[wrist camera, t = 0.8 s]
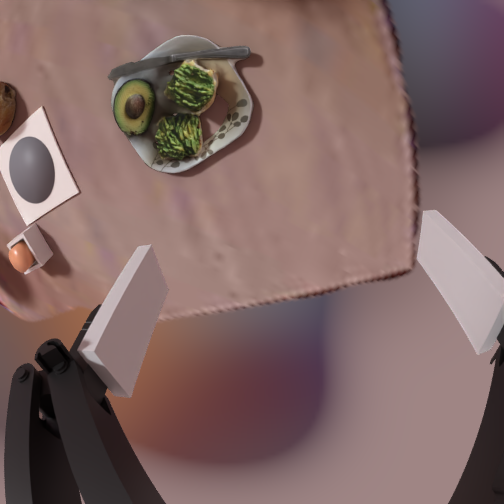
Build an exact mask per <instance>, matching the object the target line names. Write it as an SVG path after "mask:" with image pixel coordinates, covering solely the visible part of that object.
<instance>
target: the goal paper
mask: <svg viewBox="0 0 504 504" xmlns="http://www.w3.org/2000/svg"><path fill="white" fill-rule="evenodd" d="M0 171H1V173H2V176H3V178H4V180H5V183H6V185H7V187H8V189H9V191H10V194H11V196H12V198H13V200H14V202H15V204H16V206H17V208H18V210H19V212H20V214H21V216H22V218H23V220H24V221H25V223H26V225H29V224H30V223H32V222H33V221H35V220H36V219H38V218H39V217H41V216H42V215H44V214H45V213H47V212H48V211H50V210H51V209H53V208H54V207H56V206H57V205H59V204H61V203H62V202H64V201H65V200H67V199H69V198H70V197H72V196H74V195H75V194H77V193H79V192H80V191H79V189H78V187H77V185H76V183H75V181H74V179H73V177H72V175H71V173H70V171H69V168H68V166H67V164H66V162H65V160H64V157H63V155H62V153H61V151H60V148H59V146H58V144H57V141H56V139H55V136H54V134H53V132H52V129H51V127H50V124H49V121H48V119H47V116H46V114H45V111H44V108H43V106H41V107H40V108H39V109H38V110H37V111H36V112H35V113H33V114H32V115H31V116H30V117H29V118H28V119H27V120H26V121H25V122H24V123H23V124H22V125H21V126H20V127H19V128H18V129H17V130H16V131H15V132H14V133H13V134H12V135H11V136H10V137H9V138H8V139H7V140H6V141H5V142H4V143H3V144H2V146H1V147H0Z"/></svg>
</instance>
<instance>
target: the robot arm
mask: <svg viewBox="0 0 504 504" xmlns="http://www.w3.org/2000/svg"><path fill="white" fill-rule="evenodd" d="M417 260H418V262H419V263H420V264H421V266H422V267H423V268H424V270H425V271H426V273H427V274H428V276H429V277H430V278H431V280H432V281H433V283H434V284H435V286H436V287H437V289H438V290H439V292H440V293H441V295H442V296H443V298H444V299H445V301H446V302H447V304H448V305H449V307H450V309H451V310H452V312H453V313H454V315H455V317H456V318H457V320H458V322H459V323H460V325H461V327H462V328H463V330H464V332H465V333H466V335H467V337H468V339H469V340H470V342H471V344H472V346H473V347H474V349H475V351H476V353H477V354H481V353H483V352H486V351H488V350H491V348H492V346H493V345H494V343H495V341H496V339H497V340H498V341H499V343H500V346H499V348H498V349H497V351H496V353H495V354H494V356H493V358H492V359H491V362H490V364H492V363H493V361H494V360H495V359H496V361H495V367H494V373H493V378H492V383H491V387H490V392H489V396H488V400H487V404H486V408H485V412H484V416H483V419H482V423H481V425H480V429H479V432H478V435H477V438H476V441H475V444H474V447H473V449H472V452H471V454H470V457H469V460H468V462H467V465H466V467H465V469H464V472H463V474H462V476H461V479H460V481H459V483H458V485H457V487H456V489H455V492H454V493H453V496H452V497H451V499H450V501H449V503H448V504H504V272H503V271H502V269H501V268H500V267H499V266H498V265H497V264H496V263H495V262H494V261H492V260H491V259H489V258H488V257H486V256H485V257H484V256H483V255H482V254H481V253H480V252H479V251H478V250H477V249H476V248H475V247H474V246H473V245H472V244H471V243H470V242H469V241H468V240H467V239H466V238H465V237H464V236H463V235H462V234H461V233H460V232H459V231H458V230H457V229H456V228H455V227H454V226H453V225H452V224H451V223H450V222H449V221H448V220H446V219H445V218H444V217H443V216H442V215H441V214H440V213H439V212H438V211H436V210H428V211H423V218H422V226H421V234H420V241H419V248H418V254H417ZM168 290H169V289H168V286H167V284H166V281H165V279H164V276H163V273H162V271H161V268H160V266H159V263H158V260H157V258H156V255H155V252H154V249H153V247H152V244H151V245H144V246H138V247H137V249H136V250H135V252H134V253H133V255H132V257H131V258H130V260H129V261H128V263H127V264H126V266H125V267H124V269H123V271H122V272H121V274H120V275H119V277H118V279H117V280H116V282H115V284H114V285H113V287H112V289H111V290H110V292H109V294H108V295H107V297H106V299H105V300H104V302H103V304H101V305H98V306H97V307H96V308H95V309H94V310H93V311H92V312H91V314H90V315H89V317H88V318H87V320H86V323H85V324H84V326H83V328H82V330H81V331H80V333H79V335H78V337H77V338H76V340H75V342H74V344H73V346H72V348H71V349H70V351H68V350H67V349H66V347H65V346H64V345H63V343H62V342H61V341H60V340H59V339H50V340H48V341H46V342H45V343H43V344H42V345H41V346H40V347H39V348H38V350H37V352H36V354H35V360H36V362H37V363H38V364H39V365H40V367H41V368H42V369H43V370H42V371H37V370H36V369H35V368H34V366H33V365H32V364H29V363H27V364H23V365H21V366H20V367H19V368H18V369H17V370H16V372H15V373H14V375H13V378H12V383H11V390H10V396H9V403H8V411H7V420H6V434H5V453H4V472H5V473H4V474H5V495H6V504H82V503H81V497H80V493H81V495H82V497H83V500H84V502H85V504H166V503H165V502H164V500H163V499H162V497H161V496H160V494H159V493H158V491H157V490H156V488H155V487H154V485H153V484H152V482H151V480H150V479H149V477H148V475H147V474H146V472H145V471H144V469H143V467H142V465H141V464H140V462H139V460H138V458H137V456H136V455H135V453H134V451H133V449H132V447H131V445H130V443H129V442H128V440H127V438H126V436H125V434H124V432H123V430H122V428H121V426H120V423H119V421H118V419H117V417H116V415H115V413H114V410H113V408H112V407H111V404H110V401H109V400H108V398H107V397H106V396H105V393H106V390H107V388H108V389H109V390H110V391H111V392H112V393H113V395H114V396H120V397H128V398H131V396H132V392H133V389H134V386H135V383H136V380H137V377H138V373H139V371H140V368H141V365H142V362H143V359H144V356H145V353H146V350H147V347H148V344H149V341H150V338H151V336H152V333H153V330H154V328H155V325H156V322H157V319H158V317H159V314H160V311H161V309H162V306H163V303H164V301H165V298H166V295H167V293H168ZM39 411H40V412H41V413H42V414H43V416H42V417H43V418H42V419H40V418H39ZM79 490H80V492H79Z"/></svg>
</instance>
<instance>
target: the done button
mask: <svg viewBox="0 0 504 504" xmlns="http://www.w3.org/2000/svg"><path fill="white" fill-rule="evenodd" d="M9 259H10V261H11V263H12V265H13V266H14V268H15V269H16V270H17V271H19V272H21V273H24V272H26V271H27V270H28V269H29V268H30V266H31V265H32V264H33V263H34V262H35V260H36V259H35V257H34V255H33V254H32V252H31V251H30V249H29V247H28V245H27V244H26V242H25V241H20V242H19V243H17V244H16V245H15V246H14V247H13V248H12V249H11V250H10V251H9Z"/></svg>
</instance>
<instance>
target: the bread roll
mask: <svg viewBox="0 0 504 504" xmlns="http://www.w3.org/2000/svg"><path fill="white" fill-rule="evenodd" d="M15 96H16V93H15V91H14V90H13V89H11V88H10V87H9V86H8V85H6V83H4V82H0V135H2V134H4V133H5V132H7V130H8V128H9V127H10V126H11V124H12V121H13V118H14V112H15V107H16V102H15Z"/></svg>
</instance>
